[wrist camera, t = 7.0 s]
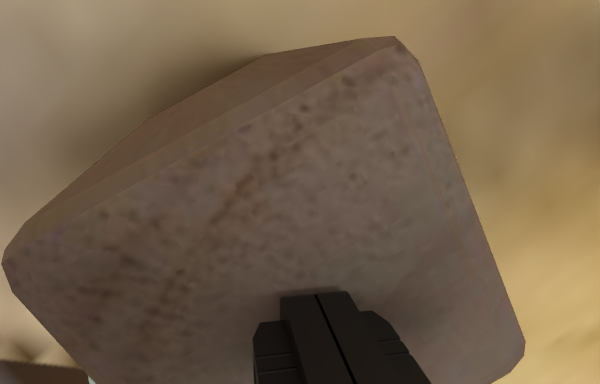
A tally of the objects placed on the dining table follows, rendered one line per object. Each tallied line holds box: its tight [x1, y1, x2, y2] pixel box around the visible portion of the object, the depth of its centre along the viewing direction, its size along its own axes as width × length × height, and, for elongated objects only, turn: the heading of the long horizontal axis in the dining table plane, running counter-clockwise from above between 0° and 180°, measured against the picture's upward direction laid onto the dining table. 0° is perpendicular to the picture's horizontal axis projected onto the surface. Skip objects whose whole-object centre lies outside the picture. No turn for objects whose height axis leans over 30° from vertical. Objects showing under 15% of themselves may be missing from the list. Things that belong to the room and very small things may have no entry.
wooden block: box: [2, 36, 525, 384], centre depth 19 cm, size 10×10×20 cm
